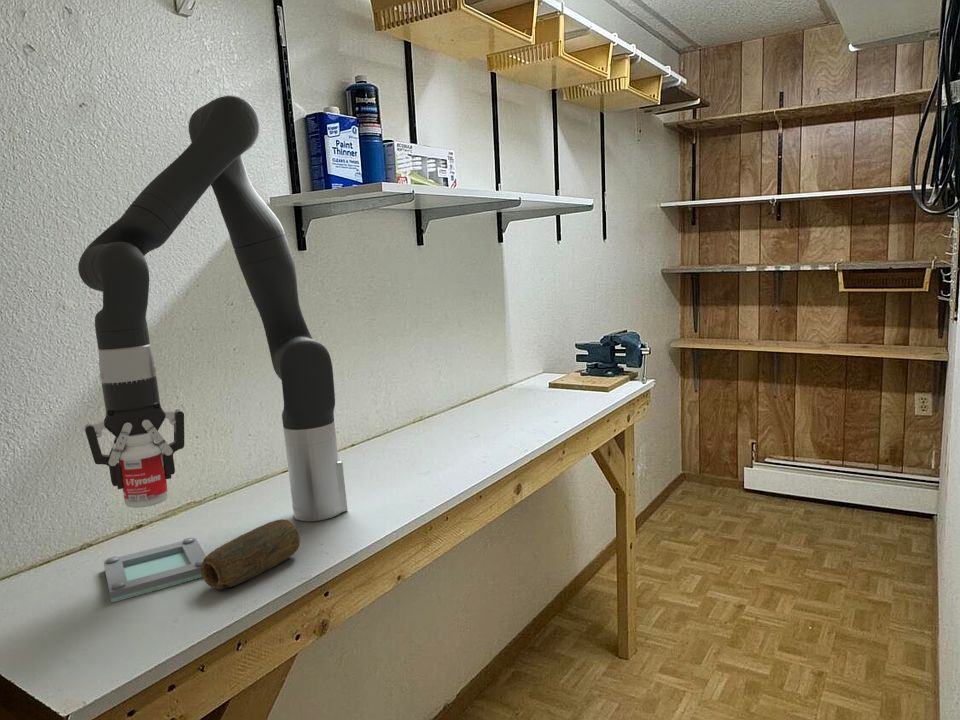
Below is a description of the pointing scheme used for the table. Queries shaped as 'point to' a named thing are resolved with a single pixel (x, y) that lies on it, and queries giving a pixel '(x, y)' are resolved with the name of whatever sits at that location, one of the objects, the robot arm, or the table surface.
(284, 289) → the robot arm
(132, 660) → the table surface
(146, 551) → the base plate
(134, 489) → the pill bottle
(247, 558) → the brown textured cylinder
